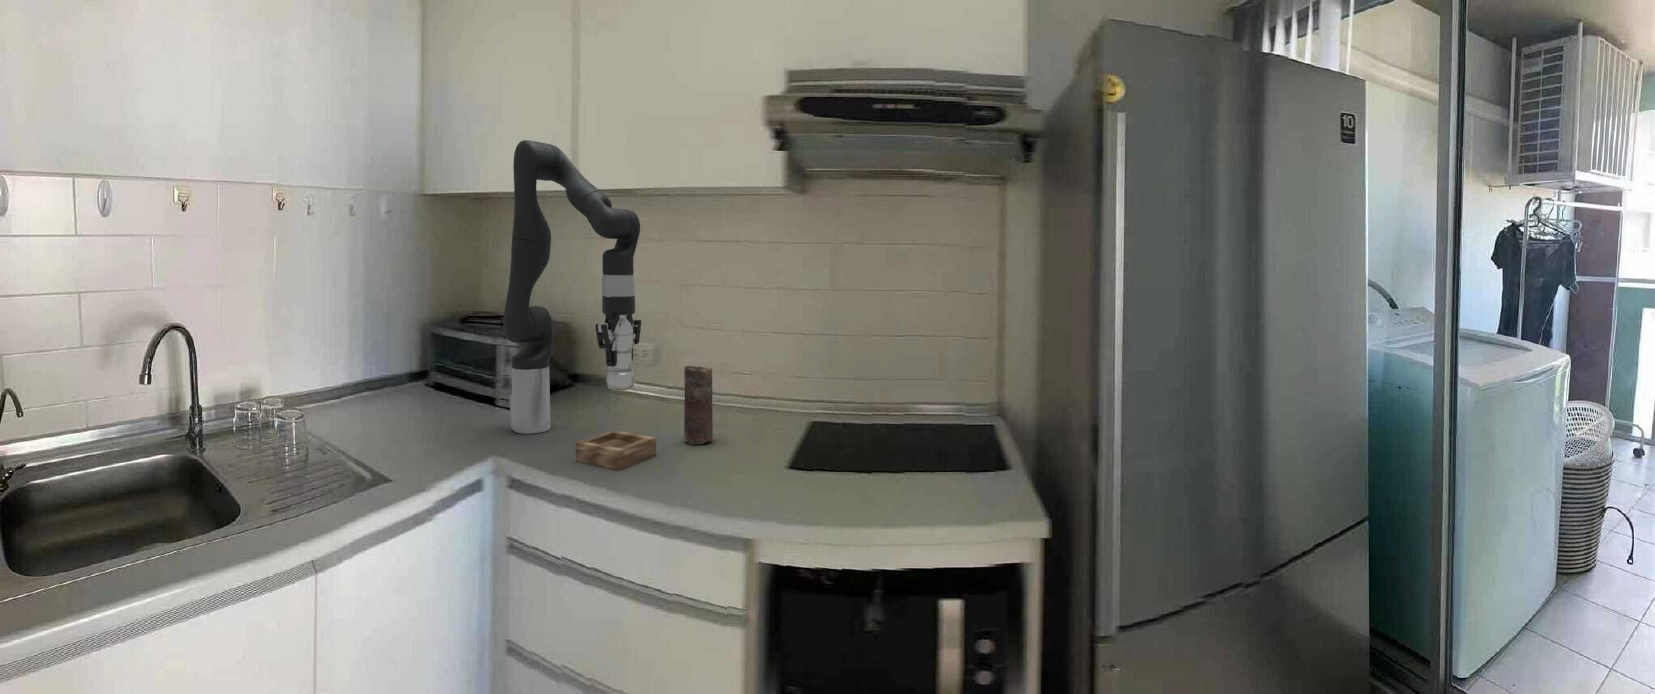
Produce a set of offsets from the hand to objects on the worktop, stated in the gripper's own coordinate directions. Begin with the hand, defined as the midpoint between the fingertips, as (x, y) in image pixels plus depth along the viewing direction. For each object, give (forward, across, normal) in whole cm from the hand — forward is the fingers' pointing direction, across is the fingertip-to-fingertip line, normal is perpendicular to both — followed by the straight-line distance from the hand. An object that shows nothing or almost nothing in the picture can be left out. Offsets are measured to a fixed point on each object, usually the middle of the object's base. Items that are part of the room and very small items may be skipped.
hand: (619, 364), depth 168 cm
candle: (+22, -18, +10) cm, 30 cm away
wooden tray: (+22, +4, +2) cm, 23 cm away
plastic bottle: (+7, 0, 0) cm, 7 cm away
